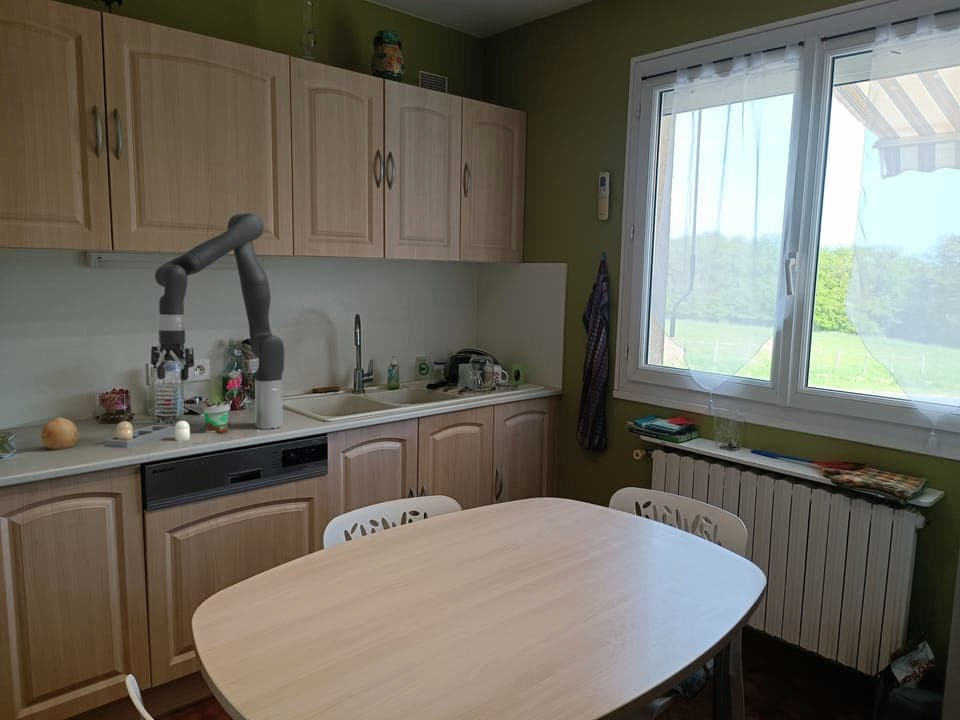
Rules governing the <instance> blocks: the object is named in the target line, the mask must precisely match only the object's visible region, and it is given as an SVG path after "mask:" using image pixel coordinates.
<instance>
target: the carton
mask: <svg viewBox="0 0 960 720" xmlns="http://www.w3.org/2000/svg"><path fill="white" fill-rule="evenodd" d="M172 435H175V425H174V426H172V425H171V426H170V425H157V424H156V425H155V424H152V425H149V426H144V427H141V428H139V429H135V430H133V439H130V440H127V441H124V440H117V435H116V436H112V437H109V438H106V439H104V443H102V444H99V445H97V447H103V448H113V449H114V448H117V449H127V450H131V449H134V448H138V447H141V446H143V445H146V444H149V443H152V442H154V441H159V440H160V439H164V438H166V437H170V436H172Z"/></svg>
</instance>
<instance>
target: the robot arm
mask: <svg viewBox="0 0 960 720" xmlns="http://www.w3.org/2000/svg"><path fill="white" fill-rule="evenodd" d="M264 228H265V226H264V223H263V220H262V218H261V217H260V216H258V214H255V213H249V212H247V213H240V214H235V215H232V216H231V217H229V220H228V222H227V231H224V232H223V233H221V234H219V235H216V236H215V237H212V238H211V239H208V240H205V241H204V242H201V243H200V244H198V245H196V246H195V247H192V248H191V249H190V250H188V251H187V252H185V253H183V255H181V256H180V255H179V256H178V257H176V258H173V259H172V260H170V261H168V262H166V263H163V264H162V265H161V266H159V267H158V268H157V270H156V271H155V273H154V278H155V282H156V283H157V284H158V285H159V286H161V287H163V288H164V292H163V294H162V296H160V298H159V301H158V307H159V308H158V310H159V312H158V313H159V317H158V343H159V344H160V345H153V346H151V350H150V351H151V352H150V353H151V354H150V365H151V366H155V367H156V376H157V378H158V380H163V379H164V380H165V377H166V367H165V365H166V364H167V362H169V361H172V362H175V363H176V364H178V366H180V381H181V382H182V381H183V382H184V381H187V380H188V379H189V369H190V368H193V367H194V366H195V358H194V357H195V356H194V349H193V347H187V348H185V343H186V323H185V322H186V321H185V320H186V319H185V310H184V309H185V308H184V307H185V303H184V302H185V301H184V300H185V296H186V292H187V288H188V277H189V276H190V275H194V274H198V273H199V272H202V270H205V268H207V267H209V266H210V265H212V264H213V263H215V262H216V261H217V260H220V259H221V258H222V257H223V256H226V255H227V254H228V253H231V252H232V251H233V253H234V256H235V261H236V267H237V271H238V276H239V281H240V282H239V283H240V286H241V294H242V298H243V303H244V307H245V312H246V318H247V320H248V321H247V322H248V330H249V344H250V350H251V352H252V354H253V355H254V356H255V358H257V359H258V367H257V368H258V369H257V370H255V372H254V393H255V394H254V397H255V398H254V399H255V400H254V401H255V402H254V406H255V409H254V410H255V413H254V415H255V428H256V427H257V428H256V429H259V428H260V429H261V430H270V429H271V428H274V429H279V428H282V427H283V425H284V405H283V404H284V400H283V380H282V379H283V373H284V370H285V347H284V342H283V340H281V338H280V337H279V336H277V335H273V334H272V330H271V325H270V322H269V321H270V320H269V317H270V315H269V314H270V306H271V299H272V298H271V290H270V285H269V284H270V283H269V279H268V276H267V274H266V272H265V270H264V269H263V266H262V265H261V263H260V262H259V260H258V258H257V255H256V252H255V248H254V247H255V246H254V241H255V240H258V239H259V238H261V236H262V234H263V232H264ZM281 426H282V427H281ZM278 427H279V428H278ZM271 430H272V429H271Z"/></svg>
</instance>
